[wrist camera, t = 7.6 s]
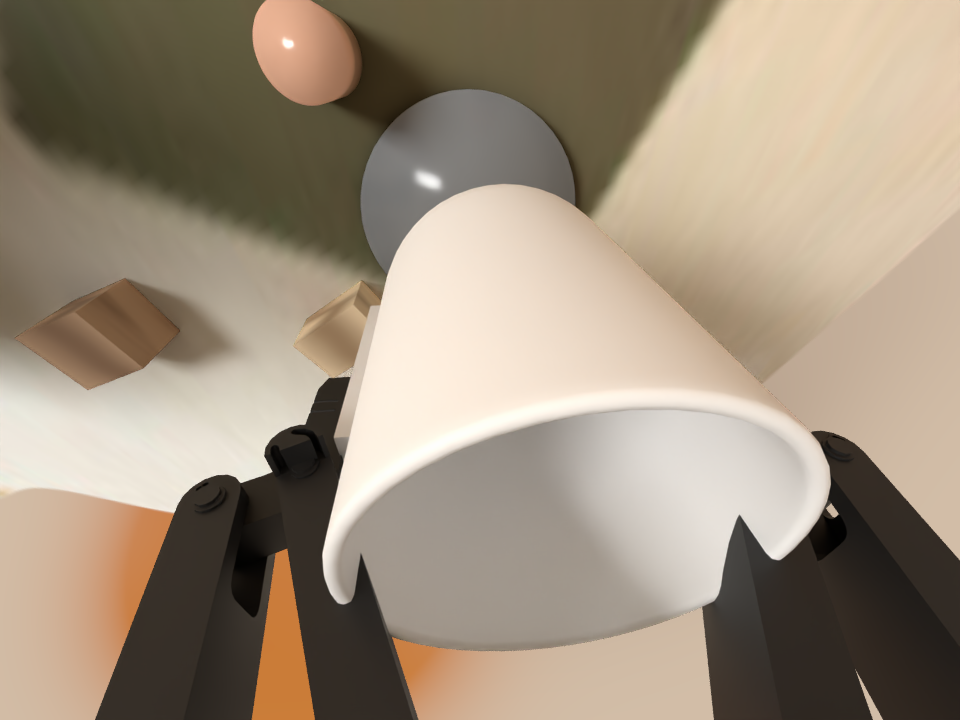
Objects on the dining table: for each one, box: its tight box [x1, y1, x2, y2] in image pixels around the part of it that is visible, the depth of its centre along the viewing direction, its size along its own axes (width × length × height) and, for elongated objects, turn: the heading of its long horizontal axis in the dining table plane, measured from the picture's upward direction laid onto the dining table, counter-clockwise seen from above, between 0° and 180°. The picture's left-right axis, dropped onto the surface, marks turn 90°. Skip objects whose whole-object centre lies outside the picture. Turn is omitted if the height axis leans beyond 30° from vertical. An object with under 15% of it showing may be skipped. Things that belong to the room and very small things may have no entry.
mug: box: [322, 184, 831, 651], centre depth 11 cm, size 12×8×10 cm
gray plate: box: [361, 89, 575, 275], centre depth 27 cm, size 15×15×1 cm
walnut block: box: [15, 279, 180, 390], centre depth 28 cm, size 5×5×5 cm
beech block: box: [293, 280, 381, 378], centre depth 30 cm, size 6×4×4 cm, turn 123°
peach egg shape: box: [253, 0, 362, 106], centre depth 19 cm, size 4×4×5 cm
